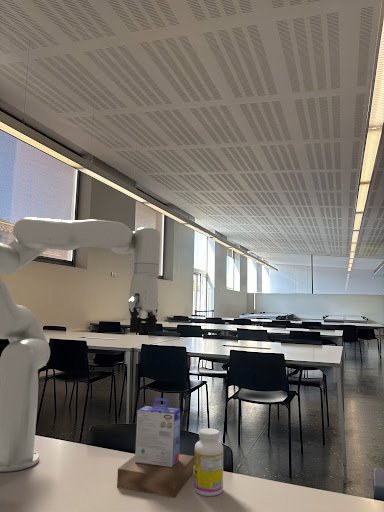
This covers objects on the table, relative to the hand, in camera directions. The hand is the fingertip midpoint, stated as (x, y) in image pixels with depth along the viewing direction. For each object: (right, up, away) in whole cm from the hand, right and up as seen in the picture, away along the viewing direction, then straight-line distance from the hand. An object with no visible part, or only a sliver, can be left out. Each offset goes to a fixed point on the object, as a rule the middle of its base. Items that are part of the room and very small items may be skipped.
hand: (143, 332), depth 108 cm
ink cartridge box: (+5, -29, -14) cm, 33 cm away
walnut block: (+5, -33, -15) cm, 36 cm away
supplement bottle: (+17, -32, -20) cm, 42 cm away
